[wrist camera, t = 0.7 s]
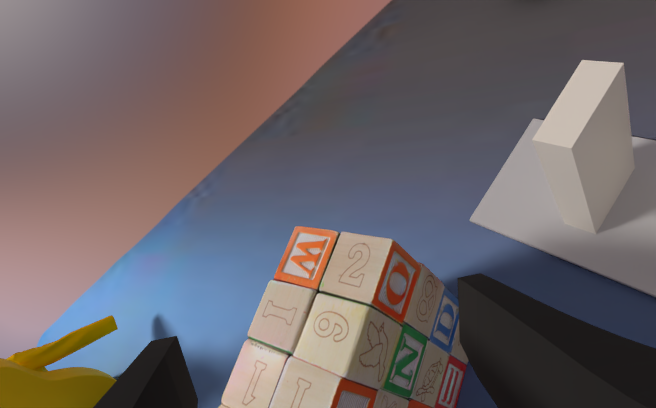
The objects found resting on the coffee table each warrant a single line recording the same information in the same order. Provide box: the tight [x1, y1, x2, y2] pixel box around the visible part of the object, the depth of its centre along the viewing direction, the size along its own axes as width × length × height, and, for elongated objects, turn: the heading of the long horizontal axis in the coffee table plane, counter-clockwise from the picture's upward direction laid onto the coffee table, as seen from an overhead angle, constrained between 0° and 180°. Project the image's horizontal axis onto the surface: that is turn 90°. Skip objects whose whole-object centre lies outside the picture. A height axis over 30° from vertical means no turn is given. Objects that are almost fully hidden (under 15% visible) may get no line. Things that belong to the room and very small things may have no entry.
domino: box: [532, 60, 635, 234], centre depth 23 cm, size 2×5×9 cm, turn 137°
